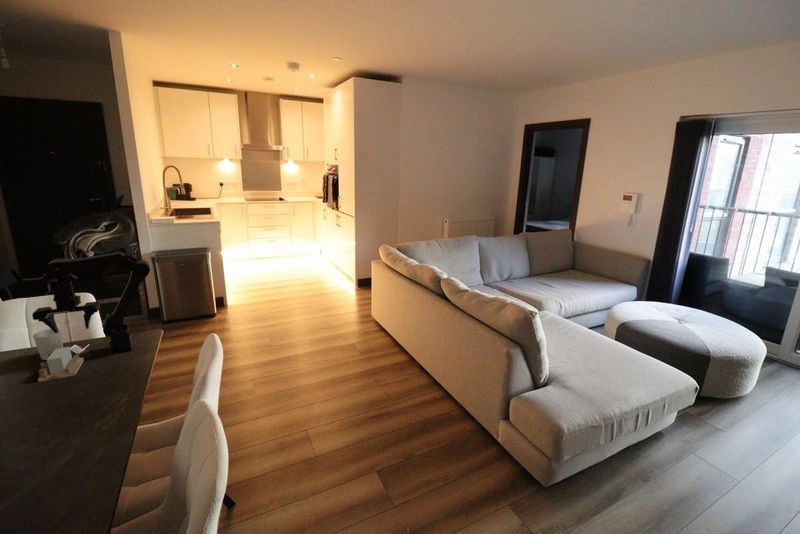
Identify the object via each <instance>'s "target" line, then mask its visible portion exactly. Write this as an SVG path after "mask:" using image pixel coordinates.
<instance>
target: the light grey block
mask: <svg viewBox="0 0 800 534" xmlns="http://www.w3.org/2000/svg"><path fill="white" fill-rule="evenodd" d="M70 347H71V346H63V348H57V349H55V350H54V352H53V353H52V354H51V355H50V356H49V358H48V359H47V360H46V361H47V363H48V367H49V371H50V375H52V374H58V373H64V372H65V369H66V367H67V366H68V365H69V363H70V362H71V360H72V359H73V355H72V352H71V348H70Z"/></svg>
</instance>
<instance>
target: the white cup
mask: <svg viewBox="0 0 800 534" xmlns="http://www.w3.org/2000/svg"><path fill="white" fill-rule="evenodd" d="M32 337H33V340H34V343H35V346H36V349H37V351H38V354H39V356H40V358H41V360H44V361H47V359H48V358H49V354H48V353H50V352H54V350H55V349H57V348H63V347H64V345H63V344H64V343H63V337H62V333H61V329H59V328H58V333H55V332H54V331H53V330H52V329H51V328H49V329H43V330H41V331H38V332H36V333H34V334H33V335H32Z"/></svg>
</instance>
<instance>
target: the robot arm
mask: <svg viewBox="0 0 800 534" xmlns="http://www.w3.org/2000/svg"><path fill="white" fill-rule="evenodd" d="M115 264H118V265H121V266H122V267H124V268H126V269H127V270H129V271H130V276H129V280H128V282H127V284H126V286H125V288H124V290H123V292H122V295H121V297H120V299H119V301H118V302H117V305H116V306H115V308H114V311H112V313H109V312H107V313H106V316H105V318H104V320H102V325H101V326H102V328H103V330H102V332H103V334H104V335H105V336H107V337H110V341H109V346H110V349H111V351H112V352H111V354H112V355H113V354H120V353H127V352H131V351H132V350H133V348H134V346H135V343H133V339H132V334H131V332H129V329H130V328H129V327H130V326H129V325H128V324H125V323H124V320H125V315H126V313H127V311H128V310H129V307H130V305H131V302H132V301H133V298H134V297H135V294H136V293H137V291H138V288H139V286H140V285H141V284H142V283H143V281H144V280H145V279H146V278H147V277H148V275H149V274H150V272H151V268H150V264H149V262H148V261H147V260H144V259H137V258H136V257H133V256H132V255H129V254H126V253H124V252H122V251H115V252H113V253H112V252H109V253H106V254H99V255H93V256H88V257H82V258H56V259H52V260H51V261H50V262H49V263H48V264H47V265H46V267H45V272H46V273H44V274H43V275H42V277H35V278H33V277H32V278H23V279H22V280H21V283H22V285H21V286H22V290H21V292H22V295H23V298H25V299H27V298H28V299H29V298H35V297H42V296H47V295H48V293H51V291H52V294H53V297H52V298H53V302H54V303H55V307H56V308H54V309H53V308H52V307H51V306H46V307H45V306H43V307H38V308H37V309H35V311H33V313H32V314H31V317H32V319H33V321H38V322H42V323H44V324H45V325H46V326H48V328H49V329H52V330H53V331H54V332H55V333H58V329H59V328H58V326H57V325H58V324H57V322H56V319H55V315H58V314H66V313H75V312H83V313H84V314H83V320H84V326H85V328H86V330H89V327H90V322H91V318H92V316H93V315H95V313H98V311H99V310H100V309H101V303H100V302H99V301H91V302H90V301H89V302H86V303H85V304H84V305H80V304H82V302H81V295H76V293H75V291H74V288H73V282H74V281H77V279H78V276H76V275H75V274H73V273H76V272H78V271H81V270H85V269H91V268H96V267H102V266H108V265H109V266H110V265H115ZM56 278H57V279H56Z"/></svg>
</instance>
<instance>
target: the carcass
mask: <svg viewBox="0 0 800 534" xmlns="http://www.w3.org/2000/svg"><path fill="white" fill-rule="evenodd" d="M52 353H53V352H50V353H48V354H49V356H50V355H51V354H52ZM84 361H85V358H84V356H83V357H80V353H76V354H74V355H73V356H72V360H71V362H70V363H69V365H68V366H67V367H66V369H65V372H64V373H58V374H52V375H50V371H49V367H48V363H47V360H45V361H42V362H40V363H39V365H40V369H39V370H38V374H39V377H38V378H37V380H38V383H41V382H45V381H50V380H57V379H63V378H67V377H73V376H76V374H77V373H78V371H79V369H80V368H81V366H82V364H83V363H84Z"/></svg>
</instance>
